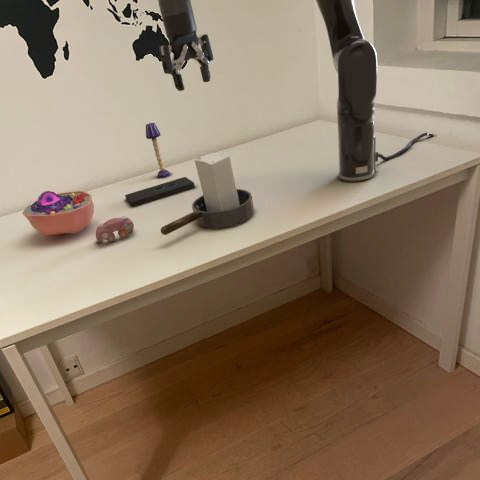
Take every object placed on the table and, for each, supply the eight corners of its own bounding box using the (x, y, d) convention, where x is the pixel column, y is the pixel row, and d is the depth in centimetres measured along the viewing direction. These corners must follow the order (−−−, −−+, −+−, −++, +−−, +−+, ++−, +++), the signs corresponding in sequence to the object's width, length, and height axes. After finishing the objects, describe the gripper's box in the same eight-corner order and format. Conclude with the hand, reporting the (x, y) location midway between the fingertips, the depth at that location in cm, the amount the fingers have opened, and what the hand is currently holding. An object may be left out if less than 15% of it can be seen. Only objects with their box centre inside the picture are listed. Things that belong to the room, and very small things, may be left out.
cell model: (70, 250, 121) (53, 208, 115) (22, 241, 131) (4, 202, 125) (116, 221, 132) (103, 182, 126) (68, 215, 142) (54, 178, 136)
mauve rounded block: (101, 251, 121) (96, 232, 115) (95, 239, 123) (89, 220, 117) (138, 238, 124) (135, 219, 118) (131, 226, 126) (128, 207, 120)
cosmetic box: (242, 214, 121) (232, 156, 112) (222, 223, 119) (210, 163, 110) (224, 207, 127) (214, 150, 119) (205, 214, 125) (193, 157, 116)
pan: (227, 201, 132) (224, 185, 129) (266, 211, 122) (263, 194, 119) (184, 222, 124) (180, 205, 122) (222, 234, 114) (218, 217, 112)
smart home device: (194, 182, 144) (131, 201, 138) (195, 187, 145) (132, 207, 139) (185, 176, 150) (124, 194, 145) (186, 181, 151) (125, 199, 146)
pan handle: (198, 216, 118) (197, 208, 117) (203, 217, 117) (202, 210, 116) (160, 235, 113) (157, 227, 111) (164, 237, 111) (162, 229, 110)
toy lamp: (154, 178, 159) (140, 126, 149) (160, 173, 162) (147, 122, 153) (166, 178, 157) (153, 125, 148) (173, 172, 160) (160, 121, 151)
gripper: (161, 16, 108) (181, 93, 116) (209, 4, 114) (224, 78, 123) (144, 20, 113) (164, 94, 122) (190, 9, 120) (206, 79, 128)
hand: (194, 86), depth 122 cm, fingers open, 8 cm apart
